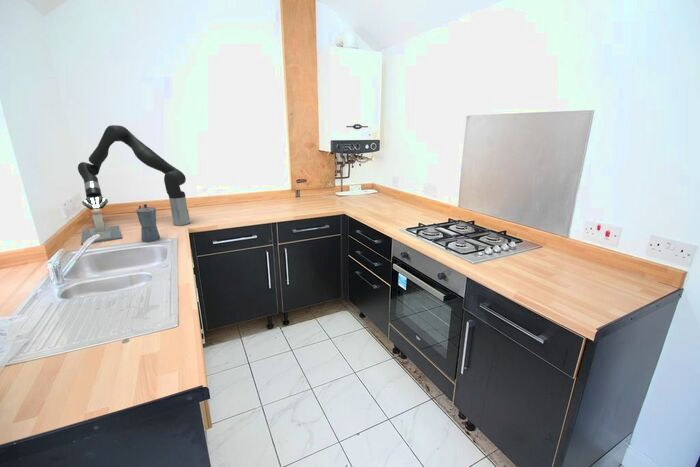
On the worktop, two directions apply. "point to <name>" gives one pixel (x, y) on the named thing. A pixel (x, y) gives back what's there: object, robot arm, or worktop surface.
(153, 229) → the moka pot
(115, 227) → the board
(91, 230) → the mount
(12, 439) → the worktop surface
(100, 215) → the grey upright post
